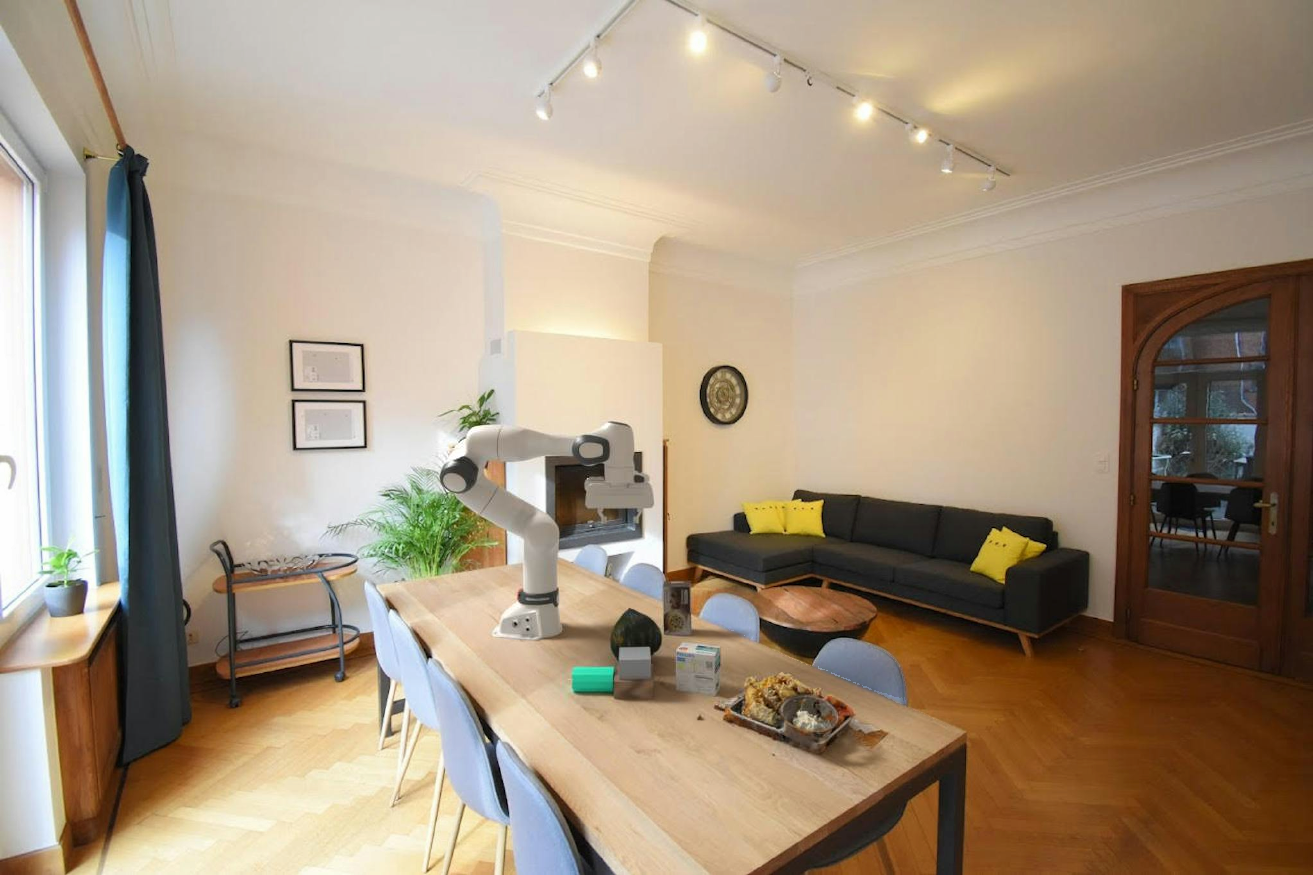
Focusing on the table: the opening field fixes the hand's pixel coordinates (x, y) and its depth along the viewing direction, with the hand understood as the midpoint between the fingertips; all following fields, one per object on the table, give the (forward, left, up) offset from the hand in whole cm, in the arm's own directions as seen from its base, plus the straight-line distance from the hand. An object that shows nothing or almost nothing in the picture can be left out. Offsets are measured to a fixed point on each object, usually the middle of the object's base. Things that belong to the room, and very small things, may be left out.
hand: (620, 523), depth 172 cm
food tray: (+42, -40, -40) cm, 70 cm away
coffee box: (+17, +18, -39) cm, 46 cm away
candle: (0, -23, -36) cm, 43 cm away
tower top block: (+6, -23, -34) cm, 42 cm away
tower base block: (+5, -23, -39) cm, 46 cm away
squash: (+5, -7, -39) cm, 40 cm away
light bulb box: (+22, -22, -39) cm, 50 cm away
